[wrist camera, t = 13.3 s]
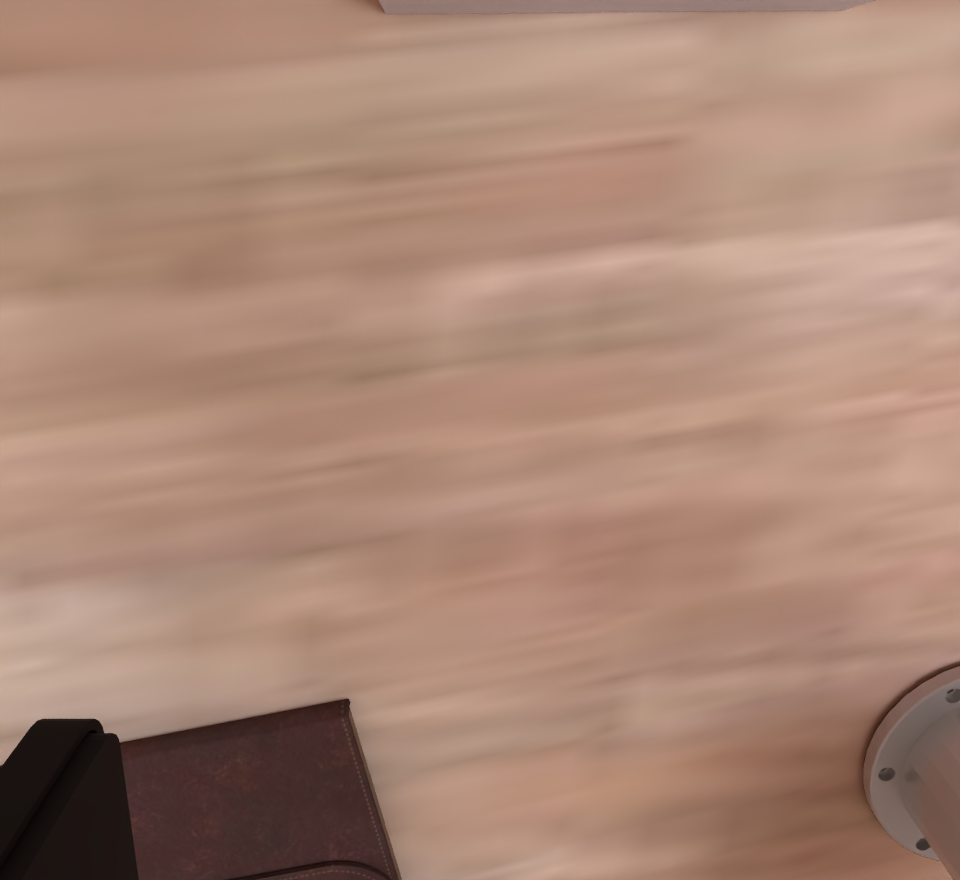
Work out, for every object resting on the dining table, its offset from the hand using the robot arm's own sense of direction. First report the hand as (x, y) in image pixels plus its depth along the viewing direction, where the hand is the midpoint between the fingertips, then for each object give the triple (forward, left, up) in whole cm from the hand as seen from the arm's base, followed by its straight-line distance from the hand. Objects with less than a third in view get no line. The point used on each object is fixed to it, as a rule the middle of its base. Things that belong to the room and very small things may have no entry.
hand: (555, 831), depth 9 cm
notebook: (+15, +29, -31) cm, 45 cm away
